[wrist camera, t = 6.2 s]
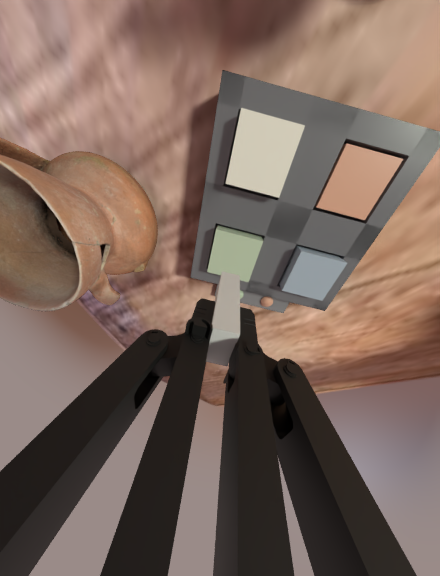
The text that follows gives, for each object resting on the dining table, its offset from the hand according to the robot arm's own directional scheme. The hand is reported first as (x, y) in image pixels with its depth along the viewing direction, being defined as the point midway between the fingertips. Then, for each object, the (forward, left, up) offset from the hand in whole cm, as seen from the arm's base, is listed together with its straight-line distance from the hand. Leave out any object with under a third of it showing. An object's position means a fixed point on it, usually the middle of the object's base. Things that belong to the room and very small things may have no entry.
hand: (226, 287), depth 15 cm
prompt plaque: (-5, +8, -12) cm, 15 cm away
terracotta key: (-10, -10, -11) cm, 18 cm away
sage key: (0, 0, -9) cm, 9 cm away
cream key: (0, -10, -9) cm, 14 cm away
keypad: (-5, -5, -12) cm, 14 cm away
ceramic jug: (+18, 0, -12) cm, 22 cm away
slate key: (-10, 0, -9) cm, 14 cm away
